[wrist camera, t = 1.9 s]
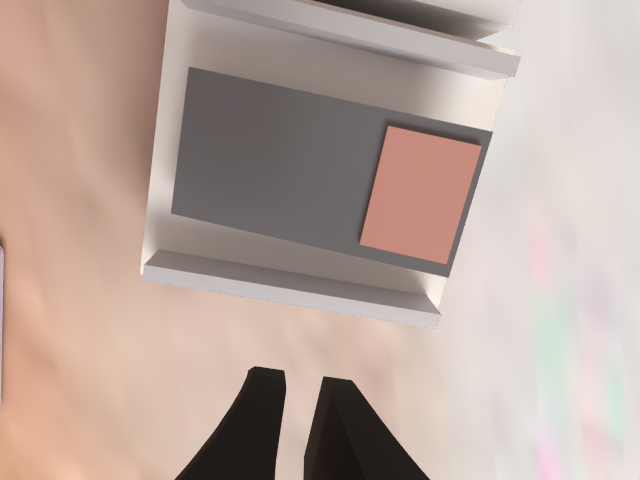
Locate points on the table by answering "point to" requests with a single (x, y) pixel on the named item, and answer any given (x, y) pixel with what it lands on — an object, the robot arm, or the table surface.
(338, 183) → the rocker switch
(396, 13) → the button guard
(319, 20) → the box
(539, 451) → the table surface
